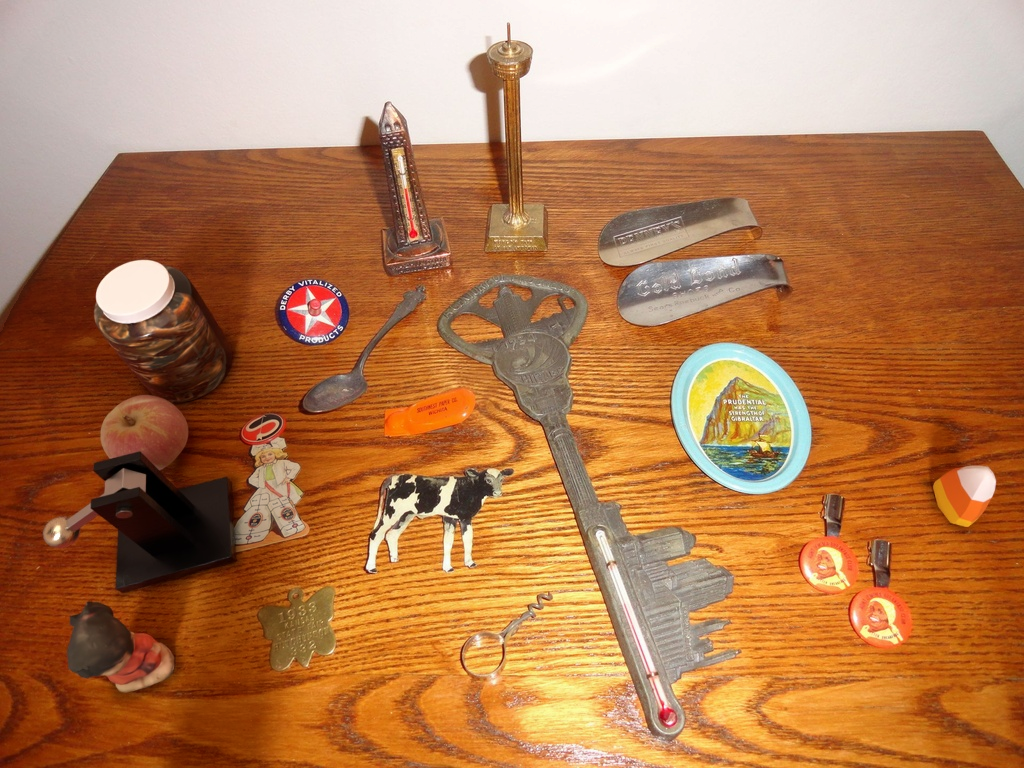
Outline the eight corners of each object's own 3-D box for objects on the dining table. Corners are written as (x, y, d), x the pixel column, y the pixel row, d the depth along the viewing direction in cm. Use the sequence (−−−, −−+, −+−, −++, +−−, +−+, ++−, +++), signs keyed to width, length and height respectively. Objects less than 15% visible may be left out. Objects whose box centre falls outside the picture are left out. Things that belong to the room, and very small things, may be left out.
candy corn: (924, 482, 77) (959, 446, 70) (950, 479, 77) (988, 443, 70) (948, 532, 73) (988, 500, 67) (976, 529, 73) (1018, 497, 67)
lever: (67, 556, 71) (34, 550, 69) (69, 527, 73) (37, 521, 70) (149, 499, 67) (118, 491, 65) (150, 470, 69) (119, 461, 66)
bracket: (122, 593, 73) (44, 544, 62) (125, 510, 79) (54, 450, 68) (236, 561, 75) (180, 508, 64) (231, 481, 80) (180, 419, 69)
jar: (253, 349, 91) (207, 269, 79) (190, 416, 86) (130, 341, 74) (187, 318, 95) (134, 237, 83) (123, 380, 89) (55, 303, 77)
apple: (213, 437, 84) (185, 400, 77) (162, 497, 80) (127, 464, 73) (160, 410, 87) (128, 373, 80) (107, 467, 82) (69, 433, 76)
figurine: (101, 673, 69) (27, 641, 59) (146, 625, 71) (82, 587, 62) (141, 712, 67) (71, 686, 57) (187, 661, 69) (127, 628, 59)
